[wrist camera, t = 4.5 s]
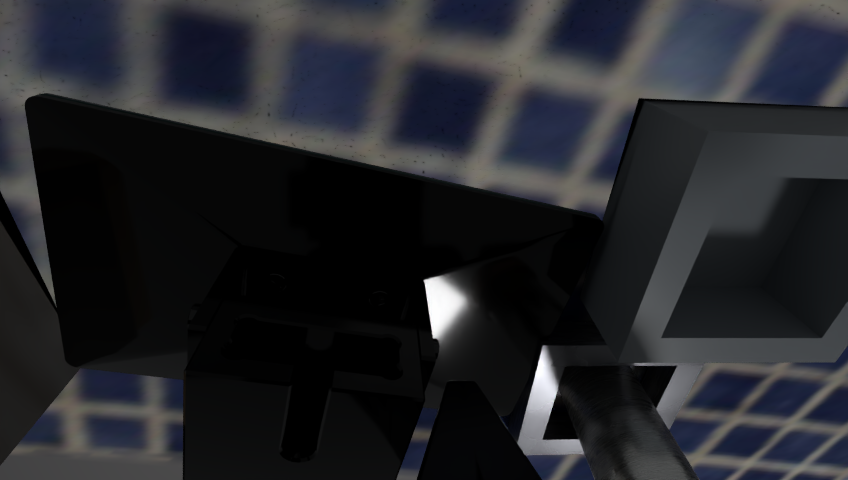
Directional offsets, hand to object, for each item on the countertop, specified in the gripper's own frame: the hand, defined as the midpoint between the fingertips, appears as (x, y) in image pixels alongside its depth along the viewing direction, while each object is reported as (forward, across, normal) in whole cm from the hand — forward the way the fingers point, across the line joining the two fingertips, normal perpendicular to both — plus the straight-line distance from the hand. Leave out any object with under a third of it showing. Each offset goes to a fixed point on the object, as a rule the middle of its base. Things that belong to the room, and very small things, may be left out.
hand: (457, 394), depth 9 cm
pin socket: (+4, -5, +4) cm, 7 cm away
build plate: (+5, +4, -1) cm, 7 cm away
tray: (+4, -7, -2) cm, 8 cm away
